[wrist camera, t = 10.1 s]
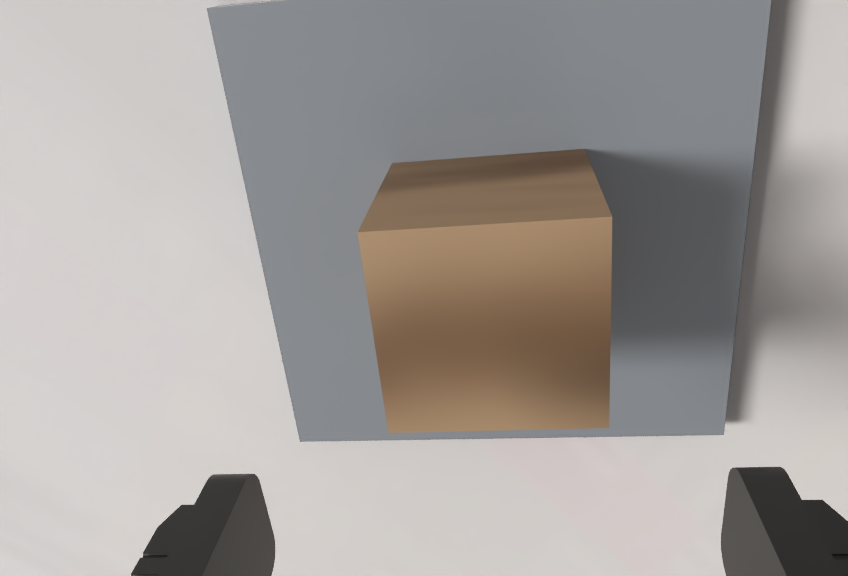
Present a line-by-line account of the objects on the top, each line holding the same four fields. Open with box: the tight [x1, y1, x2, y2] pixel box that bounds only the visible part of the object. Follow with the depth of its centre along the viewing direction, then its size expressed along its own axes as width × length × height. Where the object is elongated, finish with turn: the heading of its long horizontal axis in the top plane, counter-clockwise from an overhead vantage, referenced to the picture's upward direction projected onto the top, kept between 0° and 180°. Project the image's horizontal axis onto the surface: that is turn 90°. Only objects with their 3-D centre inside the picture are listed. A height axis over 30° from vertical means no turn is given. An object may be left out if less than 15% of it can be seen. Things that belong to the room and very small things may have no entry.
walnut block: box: [357, 149, 612, 433], centre depth 20 cm, size 6×6×6 cm
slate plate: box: [207, 0, 771, 442], centre depth 24 cm, size 16×16×1 cm
